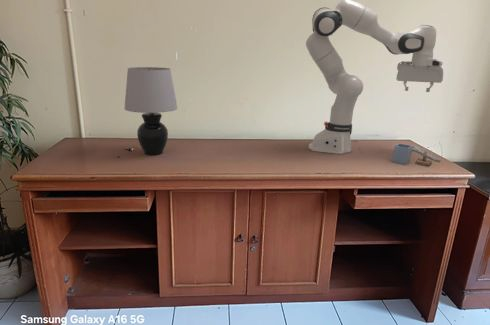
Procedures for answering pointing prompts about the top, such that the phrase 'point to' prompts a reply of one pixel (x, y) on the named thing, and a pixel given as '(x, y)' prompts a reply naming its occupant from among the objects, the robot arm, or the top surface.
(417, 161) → the post stand
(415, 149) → the adjustable wrench
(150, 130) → the lamp
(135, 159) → the top surface
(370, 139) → the top surface
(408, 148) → the collar
